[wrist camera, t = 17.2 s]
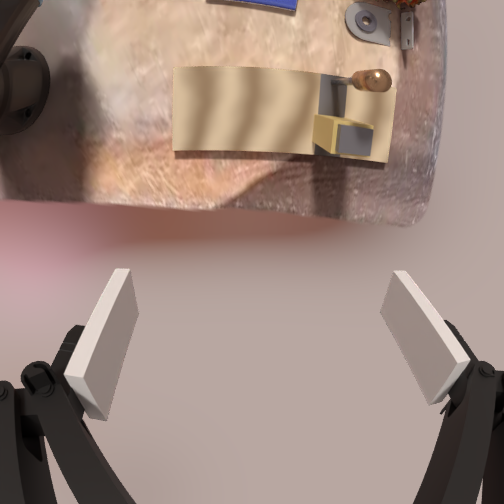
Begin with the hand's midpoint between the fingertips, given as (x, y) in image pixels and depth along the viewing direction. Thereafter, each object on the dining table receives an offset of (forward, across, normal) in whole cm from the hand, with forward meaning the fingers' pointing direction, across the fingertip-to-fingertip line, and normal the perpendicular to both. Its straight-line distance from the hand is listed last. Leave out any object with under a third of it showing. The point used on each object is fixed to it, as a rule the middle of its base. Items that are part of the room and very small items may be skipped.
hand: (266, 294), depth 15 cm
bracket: (+33, +19, +23) cm, 45 cm away
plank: (+33, +6, +7) cm, 34 cm away
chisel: (+31, +12, +12) cm, 36 cm away
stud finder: (+31, +12, +5) cm, 34 cm away
